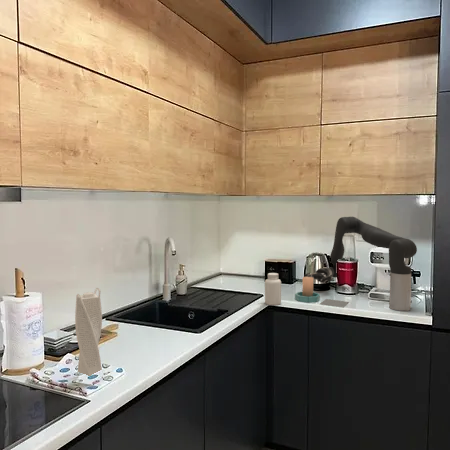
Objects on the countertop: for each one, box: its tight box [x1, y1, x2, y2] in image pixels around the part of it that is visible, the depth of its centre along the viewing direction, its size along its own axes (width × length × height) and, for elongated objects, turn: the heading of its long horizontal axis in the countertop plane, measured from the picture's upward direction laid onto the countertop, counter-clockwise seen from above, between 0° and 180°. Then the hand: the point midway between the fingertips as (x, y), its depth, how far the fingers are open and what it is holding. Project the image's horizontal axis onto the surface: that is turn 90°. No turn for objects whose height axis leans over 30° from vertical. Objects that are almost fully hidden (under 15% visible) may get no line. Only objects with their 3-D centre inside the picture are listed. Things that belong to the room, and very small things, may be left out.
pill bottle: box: [264, 272, 282, 306], centre depth 216 cm, size 8×8×15 cm
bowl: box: [294, 291, 321, 304], centre depth 222 cm, size 12×12×3 cm
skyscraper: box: [74, 287, 103, 376], centre depth 127 cm, size 8×8×28 cm
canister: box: [301, 276, 314, 297], centre depth 222 cm, size 5×5×11 cm
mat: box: [319, 298, 350, 308], centre depth 215 cm, size 12×12×1 cm
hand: (314, 279), depth 231 cm, fingers open, 8 cm apart
